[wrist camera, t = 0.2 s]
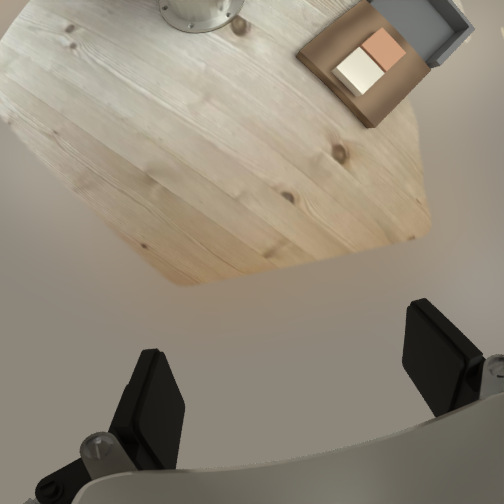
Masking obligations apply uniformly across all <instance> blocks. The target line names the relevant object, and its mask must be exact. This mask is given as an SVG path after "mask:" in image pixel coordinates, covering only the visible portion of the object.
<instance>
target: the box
mask: <svg viewBox="0 0 504 504" xmlns="http://www.w3.org/2000/svg"><path fill="white" fill-rule="evenodd" d="M366 1H367V2H369V3H370V4H371V5H372V6H373V7H374V8H375V9H376V10H377V11H378V12H379V13H380V14H381V15H382V16H383V17H384V18H385V19H386V20H387V21H388V22H389V23H390V24H391V25H392V26H393V27H394V28H395V29H396V30H397V31H398V32H399V33H400V34H401V35H402V36H403V38H404V39H405V40H406V41H407V42H408V43H409V44H410V45H411V46H412V48H413V49H414V50H415V51H416V52H417V53H418V55H419V56H420V57H421V58H422V59H423V61H424V62H425V63H426V64H427V65H428V67H429V68H430V69H431V68H434V67H437V66H440V65H441V64H442V63H443V62H444V61H445V60H446V59H447V58H448V57H449V56H450V55H451V54H452V53H453V52H454V51H455V50H456V49H457V48H458V47H459V46H460V45H461V44H462V42H463V41H464V40H465V39H466V38H467V37H468V36H469V35H470V34H471V33H472V32H473V31H474V30H475V28H474V27H473V26H472V24H471V23H470V22H469V21H468V19H467V18H466V17H465V16H464V14H463V13H462V12H461V11H460V9H459V8H458V7H457V6H456V5H455V4H454V2H453V1H452V0H366Z"/></svg>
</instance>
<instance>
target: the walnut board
mask: <svg viewBox="0 0 504 504" xmlns="http://www.w3.org/2000/svg"><path fill="white" fill-rule="evenodd" d="M380 28H383V29H384V30H385V31H386V32H387V33H388V34H389V35H390V36H391V37H392V38H393V39H394V40H395V41H396V42H397V43H398V44H399V46H400V47H401V48H402V49H403V50H404V51H405V52H406V54H405V55H404V56H403V57H401V58H400V59H399V60H398V61H397V62H396V63H395V64H394V65H393V66H392V67H391V68H390V69H389V70H388V71H387V72H384V73H385V74H384V75H382V76H381V77H380V78H379V79H378V80H377V81H376V82H375V83H374V84H373V85H372V86H371V87H370V88H369V89H368V90H367V91H366V92H365V93H364V94H363V95H360V96H358V97H356V96H355V95H354V94H353V93H352V92H351V91H350V90H349V89H348V88H347V87H346V86H345V85H344V84H343V83H342V82H341V81H340V80H339V79H338V78H337V77H336V76H335V75H334V74H333V73H332V72H331V71H332V70H333V69H334V68H335V67H336V66H337V65H338V64H340V63H341V62H342V61H343V60H344V59H345V58H346V57H347V56H348V55H350V54H351V53H352V52H353V51H354V50H355V49H356V48H357V47H359V46H360V45H361V44H362V43H363V42H364V41H366V40H367V39H368V38H369V37H370V36H371V35H373V34H374V33H375V32H376V31H378V30H379V29H380ZM296 57H297V58H298V59H299V60H300V61H301V62H302V63H304V64H305V65H306V66H307V67H308V68H309V69H310V70H311V71H312V72H313V73H314V74H315V75H316V76H317V77H319V78H320V79H321V80H322V81H323V82H324V83H325V84H326V85H327V86H328V87H329V88H330V89H331V90H332V91H333V92H334V93H335V94H336V95H337V96H338V97H339V98H340V99H341V100H342V101H343V102H344V103H345V104H346V105H347V107H348V108H349V109H350V110H351V111H352V112H353V113H354V114H355V115H356V116H357V117H358V118H359V119H360V121H361V122H362V123H363V124H364V125H365V126H366V127H367V128H375V127H376V126H377V125H378V124H379V123H380V122H381V121H382V120H383V119H384V118H385V117H386V116H387V115H388V114H389V113H390V112H391V111H392V110H393V109H394V108H395V107H396V106H397V105H398V104H399V103H400V102H401V101H402V100H403V99H404V98H405V97H406V96H407V94H408V93H409V92H410V91H411V90H412V89H413V88H414V87H415V86H416V85H417V84H418V83H419V82H420V81H421V80H422V79H423V78H424V77H425V76H426V75H427V74H428V73H429V72H430V71H431V69H430V68H429V67H428V65H427V64H426V63H425V62H424V61H423V59H422V58H421V57H420V56H419V55H418V53H417V52H416V51H415V50H414V49H413V48H412V46H411V45H410V44H409V43H408V42H407V41H406V40H405V39H404V38H403V36H402V35H401V34H400V33H399V32H398V31H397V30H396V29H395V28H394V27H393V26H392V25H391V24H390V23H389V22H388V21H387V20H386V19H385V18H384V17H383V16H382V15H381V14H380V13H379V12H378V11H377V10H376V9H375V8H374V7H373V6H372V5H371V4H370V3H369V2H367V1H366V0H362V1H360V2H359V3H358V4H356V5H355V6H354V7H353V8H351V9H350V10H349V11H347V12H346V13H345V14H344V15H342V16H341V17H340V18H338V19H337V20H336V21H335V22H333V23H332V24H331V25H330V26H329V27H327V28H326V29H325V30H324V31H322V32H321V33H320V34H319V35H318V36H316V37H315V38H314V39H313V40H312V41H311V42H309V43H308V44H307V45H306V46H305V47H304V48H302V49H301V50H300V51H299V53H298V54H297V56H296Z"/></svg>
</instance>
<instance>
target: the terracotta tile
mask: <svg viewBox="0 0 504 504" xmlns="http://www.w3.org/2000/svg"><path fill="white" fill-rule="evenodd" d="M359 47H360V48H361V49H362V50H363V51H364V52H365V53H366V54H367V55H368V56H369V57H370V58H371V59H372V60H373V61H374V62H375V63H376V64H377V66H378V67H379V68H380V69H381V70H382V71H383V72H387V71H388V70H389V69H390V68H391V67H392V66H393V65H394V64H395V63H396V62H397V61H398V60H399V59H400V58H401V57H403V56H404V55H405V54H406V52H405V51H404V50H403V49H402V48H401V47H400V46H399V44H398V43H397V42H396V41H395V40H394V39H393V38H392V37H391V36H390V35H389V34H388V33H387V32H386V31H385V30H384V29H383V28H380V29H379V30H378V31H376V32H375V33H374V34H373V35H371V36H370V37H369V38H368V39H367V40H366V41H364V42H363V43H362V44H361V45H360V46H359ZM357 48H358V47H357ZM357 48H356V49H357ZM356 49H355V50H356Z"/></svg>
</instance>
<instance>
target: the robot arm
mask: <svg viewBox="0 0 504 504" xmlns="http://www.w3.org/2000/svg"><path fill="white" fill-rule="evenodd" d="M243 2H244V0H159V8H160V11H161V14H162V16H163V17H164V19H165V20H166V21H167V22H168V23H169V24H170V25H172V26H173V27H174V28H177V29H179V30H182V31H186V32H193V33H199V32H207V31H212V30H215V29H218V28H220V27H222V26H224V25H226V24H228V23H229V22H230V21H231V20H233V19H234V18H235V17H236V16H237V14H238V13H239V11H240V10H241V8H242V5H243ZM165 9H167V10H165ZM227 16H230V17H227ZM190 27H193V28H190ZM482 355H483V353H482V352H481V351H480V350H479V349H478V348H477V347H476V346H475V345H474V344H473V343H472V342H471V341H470V340H469V339H468V338H467V337H466V336H465V335H463V333H462V332H461V331H460V330H459V329H458V328H457V327H455V325H454V324H453V323H452V322H450V321H449V320H448V319H447V318H446V317H445V316H444V315H443V314H442V313H441V312H440V311H439V310H438V309H437V308H436V307H434V305H432V304H431V303H430V302H429V301H428V300H427V299H426V298H422V299H419V300H415V301H412V302H411V304H410V306H408V307H407V313H406V327H405V338H404V348H403V357H402V364H403V367H404V369H405V370H406V372H407V374H408V375H409V377H410V378H411V380H412V381H413V383H414V384H415V386H416V387H417V389H418V390H419V392H420V394H421V395H422V397H423V398H424V400H425V401H426V403H427V404H428V406H429V408H430V409H431V411H432V412H433V414H434V416H435V417H436V418H434V419H431V420H428V421H426V422H423V423H421V424H418V425H415V426H413V427H410V428H407V429H404V430H401V431H398V432H395V433H392V434H389V435H386V436H383V437H380V438H376V439H373V440H369V441H366V442H362V443H359V444H355V445H352V446H347V447H343V448H339V449H335V450H331V451H326V452H322V453H317V454H313V455H308V456H302V457H297V458H291V459H286V460H279V461H272V462H265V463H258V464H250V465H241V466H230V467H217V468H201V469H176V463H177V456H178V450H179V444H180V437H181V431H182V425H183V419H184V413H185V404H184V400H183V398H182V395H181V393H180V391H179V388H178V386H177V384H176V381H175V379H174V377H173V374H172V371H171V369H170V367H169V364H168V361H167V359H166V356H165V354H164V353H163V352H160V351H159V350H158V349H157V348H156V349H146V350H143V351H142V352H141V355H140V357H139V359H138V362H137V364H136V367H135V369H134V372H133V374H132V377H131V379H130V381H129V384H128V385H127V386H126V387H125V389H124V392H123V394H122V397H121V400H120V402H119V405H118V407H117V410H116V412H115V415H114V417H113V420H112V422H111V425H110V428H109V431H108V432H96V433H94V434H91V435H90V436H88V437H87V438H86V439H85V440H84V441H83V442H82V444H81V446H80V456H81V458H79V459H77V460H75V461H74V462H72V463H70V464H68V465H67V466H65V467H63V468H61V469H59V470H57V471H56V472H54V473H52V474H50V475H48V476H46V477H45V478H43V479H42V480H41V481H40V482H39V483H38V485H37V487H36V489H35V496H36V498H35V499H34V500H32V499H31V498H29V499H28V500H27V501H26V502H25V503H24V504H504V355H502V354H498V355H497V354H496V355H492V356H490V357H488V358H487V359H485V358H484V357H483V356H482Z"/></svg>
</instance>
